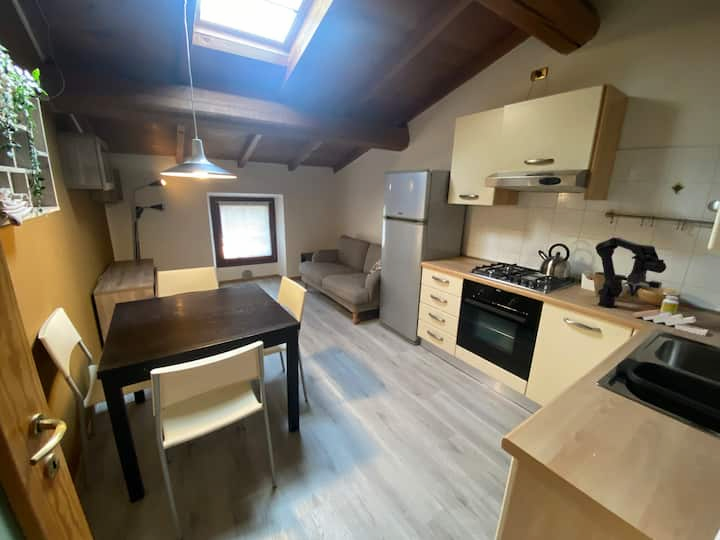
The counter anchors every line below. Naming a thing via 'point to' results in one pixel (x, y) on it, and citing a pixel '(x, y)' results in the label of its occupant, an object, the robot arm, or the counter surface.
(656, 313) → the terracotta domino
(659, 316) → the ivory domino
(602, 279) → the plant pot
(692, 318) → the ivory domino
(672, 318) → the ivory domino
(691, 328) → the ivory domino
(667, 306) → the pill bottle
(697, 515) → the counter surface
